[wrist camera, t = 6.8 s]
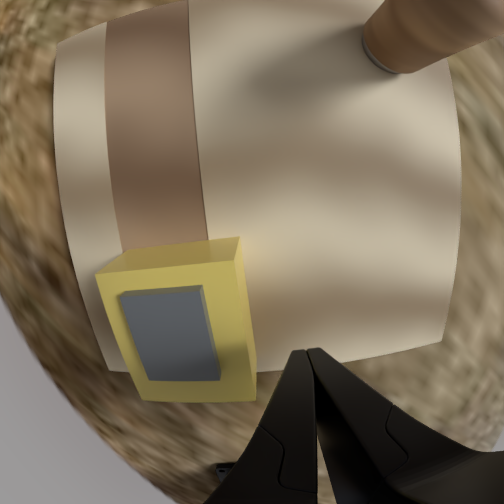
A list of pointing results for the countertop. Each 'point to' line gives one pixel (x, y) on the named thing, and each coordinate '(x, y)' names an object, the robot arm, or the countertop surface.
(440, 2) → the wooden tool handle
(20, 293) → the countertop surface
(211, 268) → the block
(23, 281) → the countertop surface
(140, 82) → the plywood panel
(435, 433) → the robot arm
